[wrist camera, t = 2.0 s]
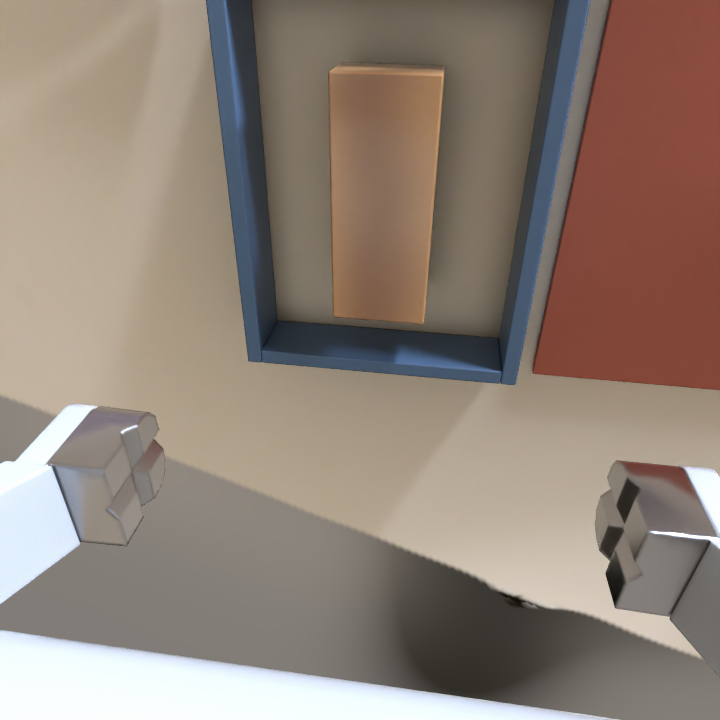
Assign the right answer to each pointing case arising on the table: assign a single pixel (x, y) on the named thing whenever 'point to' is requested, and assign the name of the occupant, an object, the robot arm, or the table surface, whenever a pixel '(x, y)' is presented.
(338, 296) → the brown rectangular block
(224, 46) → the rectangular frame
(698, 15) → the mat
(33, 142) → the table surface
